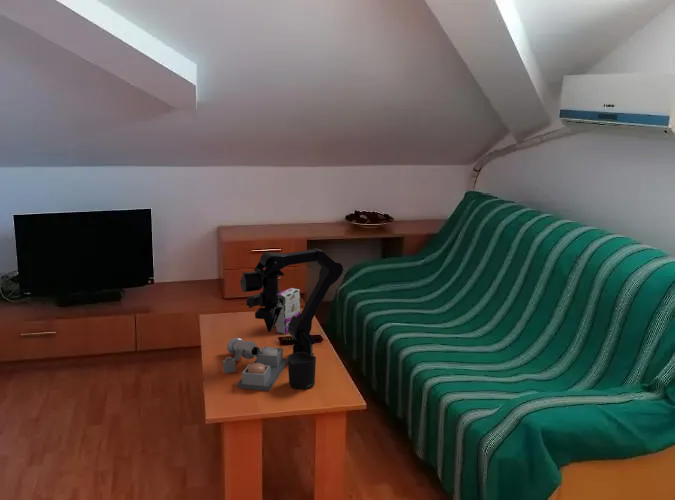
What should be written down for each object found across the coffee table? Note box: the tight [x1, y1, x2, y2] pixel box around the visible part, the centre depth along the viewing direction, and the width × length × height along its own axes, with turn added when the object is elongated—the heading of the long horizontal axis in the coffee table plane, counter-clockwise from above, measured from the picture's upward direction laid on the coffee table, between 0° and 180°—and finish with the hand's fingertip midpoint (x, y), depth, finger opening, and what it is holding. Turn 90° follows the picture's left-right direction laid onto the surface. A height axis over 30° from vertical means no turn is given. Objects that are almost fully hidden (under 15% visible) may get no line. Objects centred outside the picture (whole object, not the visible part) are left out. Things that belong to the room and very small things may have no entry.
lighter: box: [222, 348, 243, 374], centre depth 240 cm, size 7×2×8 cm, turn 117°
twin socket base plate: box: [236, 346, 288, 392], centre depth 237 cm, size 11×24×6 cm, turn 169°
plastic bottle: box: [226, 337, 261, 360], centre depth 247 cm, size 6×7×20 cm
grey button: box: [262, 347, 278, 356], centre depth 244 cm, size 6×6×4 cm
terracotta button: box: [247, 362, 265, 374], centre depth 229 cm, size 6×6×4 cm
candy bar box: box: [275, 287, 301, 335], centre depth 279 cm, size 11×5×16 cm, turn 149°
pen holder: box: [287, 352, 317, 391], centre depth 229 cm, size 9×9×10 cm
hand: (271, 329), depth 244 cm, fingers open, 3 cm apart
